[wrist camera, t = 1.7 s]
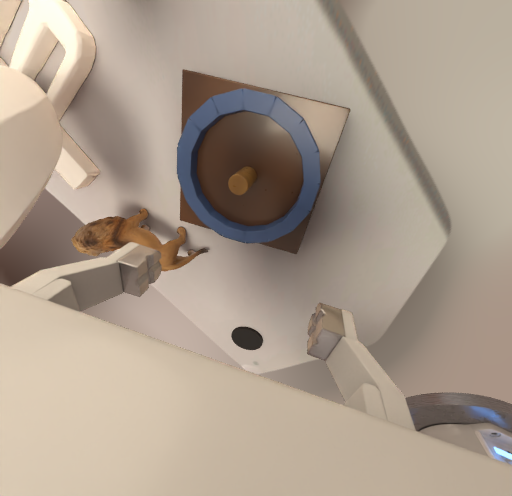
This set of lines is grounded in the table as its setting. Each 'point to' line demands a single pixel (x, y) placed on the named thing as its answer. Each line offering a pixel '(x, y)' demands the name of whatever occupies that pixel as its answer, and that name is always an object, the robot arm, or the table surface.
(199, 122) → the ring
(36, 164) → the jewelry stand
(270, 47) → the table surface
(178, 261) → the lion figurine
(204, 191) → the platform
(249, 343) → the mat
